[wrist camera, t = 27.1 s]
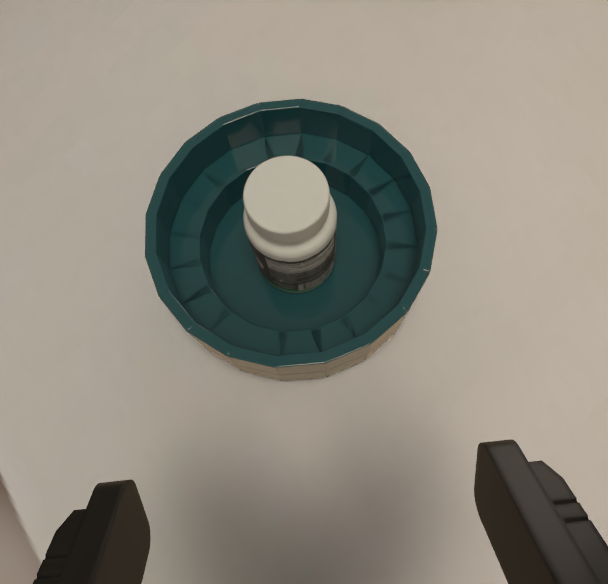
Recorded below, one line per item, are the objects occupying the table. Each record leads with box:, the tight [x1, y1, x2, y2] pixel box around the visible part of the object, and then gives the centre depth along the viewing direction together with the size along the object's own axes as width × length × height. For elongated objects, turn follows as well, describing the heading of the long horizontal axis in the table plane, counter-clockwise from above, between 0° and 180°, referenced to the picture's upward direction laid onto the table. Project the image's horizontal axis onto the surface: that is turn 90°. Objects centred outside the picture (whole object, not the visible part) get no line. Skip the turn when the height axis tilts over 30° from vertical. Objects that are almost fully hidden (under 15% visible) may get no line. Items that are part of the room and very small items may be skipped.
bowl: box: [145, 99, 437, 381], centre depth 29 cm, size 15×15×6 cm
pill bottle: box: [243, 156, 337, 293], centre depth 27 cm, size 5×5×8 cm
